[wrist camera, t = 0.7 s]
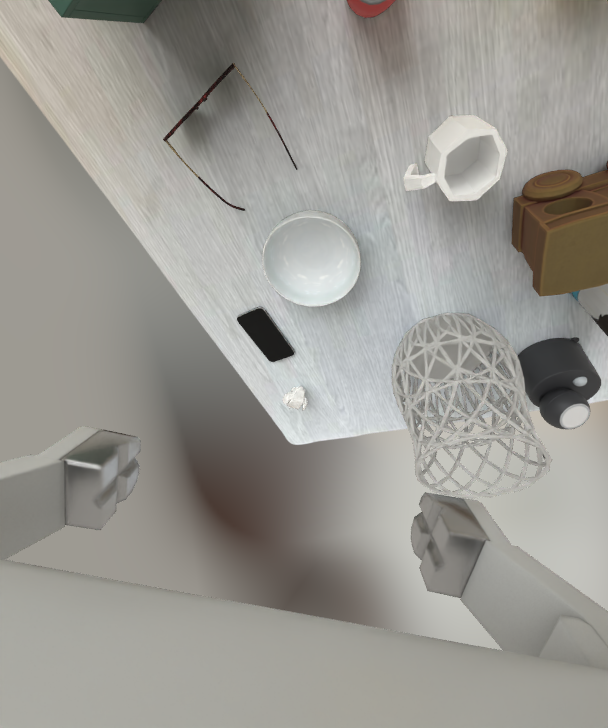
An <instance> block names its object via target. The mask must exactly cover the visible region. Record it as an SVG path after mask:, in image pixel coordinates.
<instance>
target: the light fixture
mask: <svg viewBox="0 0 608 728" xmlns="http://www.w3.org/2000/svg"><path fill="white" fill-rule="evenodd" d="M578 341H579V339H578V338H573V339H571V340H570V339H566V338H555V339H548V340H544V341H541V342H538V343H536V344H533V345H531V346H530V347H528V348H526V349H525V350H524V351H522V352H521V353H520V354H519V355H518V356H517V357H518V359H519V361H520V365H521V368H522V372H523V376H524V384H525V392H526V393H527V395H528V397H529V398H530V400H531V402H532V403H533V404H534V405H536V406H538V407H539V409H540V413H541V415H542V417H543V418H544V420H545V421H546V422H548V423H549V424H551V425H552V426H554V427H556V428H560V429H574V428H577V427H579V426H581V425H583V424H584V423H585V422H586V420H588V418H589V416H590V406H589V404H588V402H587V400H588V399H590V398H591V397H592V396H594V395H595V394H596V393H597V391H598V390H599V388H600V386H601V379H600V377H599V375H598V373H597V372H596V370H595V368H594V367H593V365H592V364H591V362H590V360H589V359H588V357H587V356H586V354H585V352H584V351H583V349H582V347H581V346H580V344H579V343H577V342H578Z"/></svg>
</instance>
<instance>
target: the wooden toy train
mask: <svg viewBox="0 0 608 728" xmlns="http://www.w3.org/2000/svg"><path fill="white" fill-rule="evenodd" d="M606 166H607V169H608V161H607V165H606ZM522 193H523V196H519V197H516V198H514V203H513V226H512V245H513V246H514V247H515V248H516V250H517V251H518V252H522V253H523V254H524V257H525V259H526V261H527V263H528V265H529V266H530V268H531V270H532V271H533V288H534V289H535V290H536V292H537V293H538V295H539V296H549V295H559V294H565V293H570V292H575V291H579V290H584V289H589V288H593V287H598V286H602V285H605V284H608V170H605V171H601V172H598V173H595V174H591V175H588V176H585V177H582V176H581V175H580V174H579V173H578V172H576V171H573V170H557V171H551V172H547V173H543V174H541V175H538V176H536V177H534V178H532V179H531V180H530V181H528V182H527V183H526V184H525V186H524V188H523V190H522Z"/></svg>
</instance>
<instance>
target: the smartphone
mask: <svg viewBox="0 0 608 728" xmlns="http://www.w3.org/2000/svg"><path fill="white" fill-rule="evenodd" d="M237 321H238V322H239V324H240V325H241V326H242V327H243V329H244V330H245V331H246V332H247V334H248V335H249V336H250V337H251V339H252V340H253V341H254V342H255V344H256V345H257V346H258V347H259V349H260V350H261V351H262V352H263V354H264V355H265V356H266V357H267V359H268V360H269V361H271V362H275V361H278V360H281V359H284V358H287V357H290V356H292V355H294V350H293V348H292V347H291V345H290V344H289V343H288V341H287V340H286V338H285V337H284V336H283V334H282V333H281V331H280V330H279V329H278V327H277V326H276V324H275V323H274V322H273V320H272V319H271V317H270V316H269V315H268V313H267V312H266V310H265V309H264V308H262V307H257V308H255V309H253V310H250V311H248V312H246V313H243V314H241V315H239V316H238V317H237Z"/></svg>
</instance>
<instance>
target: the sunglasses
mask: <svg viewBox="0 0 608 728" xmlns="http://www.w3.org/2000/svg"><path fill="white" fill-rule="evenodd" d="M234 68H236V69H237V71H238V72H239V74H240V75H241V76H242V78H243V79H244V80H245V81H246V79H245V78H244V76H243V75H242V74H241V72H240V71H239V70H238V68H237V67H236V66H235V64H234V63H232V64H231V66H230V67H229V68H228V69H227V70H226V71H225V72H224V73H223V74H222V75H221V76H220V77H219V78H218V80H217V81H216V82H215V83H214V84H213V85H212V86H211V87H210V88H209V89H208V91H207V92H206V93H205V94H204V95H203V96H202V97H201V99H200V100H199V101H198V102H197V103H196V104H195V105H194V106H193V107H192V108H191V109H190V110H189V111H188V113H187V114H186V115H185V116H184V117H183V118H182V119H181V120H180V121H179V122H178V123H177V124H176V125H175V126H174V128H173V129H172V130H171V131H170V132H169V133H168V134H167V135H166V136H165V138H164V139H163V140H164V141H166V143H167V144H168V145H169V146H170V148H171V149H172V150H173V151H174V152H175V153H176V155H177V156H178V157H179V158H180V159H181V160H182V161H183V159H182V158H181V157H180V156H179V155H178V153H177V152H176V151H175V149H174V148H173V147H172V146H171V145H170V143H169V142H168V141H167V139H168V138H169V137H171V136H172V135H173V134H174V132H175V131H176V129H177V128H178V127H179V126H180V125H181V124H182V123H183V122H184V121H185V120H186V119H187V118H188V117H189V116H190V115H191V114H192V112H193V111H194V110H196V109H197V110H198V106H199V105H200V104H201V103H202V102H205V101H206V100H207V96H208V95H209V94H210V93H211V92H212V91H213V90H214V88H215V87H216V86H217V85H218V84H219V83H220V82H221V81H222V80H223V79H224V78H225V77H226V76H227V75H228V74H229V73H230V72H231V71H232V70H233V69H234ZM246 83H247V84H248V85H249V83H248V82H247V81H246ZM249 87H250V88H251V86H250V85H249ZM251 89H252V88H251ZM252 91H253V89H252ZM253 92H254V91H253ZM254 94H255V92H254ZM255 95H256V94H255ZM256 97H257V95H256ZM257 98H258V97H257ZM258 100H259V98H258ZM259 101H260V100H259ZM260 103H261V101H260ZM261 104H262V103H261ZM262 106H263V104H262ZM263 108H264V110H265V111H266V109H265V107H264V106H263ZM266 113H267V115H268V117H269V119H270V120H271V122H272V124H273V126H274V127H275V129H276V131H277V133H278V135H279V137H280V138H281V140H282V142H283V144H284V146H285V148H286V150H287V152H288V154H289V156H290V158H291V160H292V162H293V164H294V166H295V168H296V170H297V167H296V165H295V163H294V161H293V159H292V157H291V155H290V153H289V151H288V149H287V147H286V145H285V143H284V141H283V139H282V137H281V135H280V133H279V131H278V130H277V128H276V126H275V124H274V122H273V121H272V119H271V117H270V116H269V114H268V112H267V111H266ZM183 163H184V164H185V165H186V166H187V167H188V168H189V169H190V170H191V171H192V172H193V173H194V174H195V175H196V176H197V177H198V178H199V179H200V180H201V181H202V182H203V183H204V184H205V185H206V186H207V187H208V188H209V189H210V190H211V191H212V192H213V193H214V194H215V195H216V196H217V197H219V198H220V199H221V200H222V201H223V202H225V203H226V204H227V205H229V206H231V207H233V208H236V209H239V210H243V211H245V209H244V208H240V207H236V206H233V205H231V204H229V203H228V202H226V201H225V200H224V199H223V198H222V197H220V196H219V195H218V194H217V193H216V192H215V191H214V190H213V189H211V188H210V187H209V186H208V185H207V184H206V183H205V182H204V181H203V180H202V179H201V178H200V177H199V176H198V175H197V174H196V173H195V172H194V171H193V170H192V169H191V168H190V167H189V166H188V165H187V164H186V163H185V162H184V161H183Z"/></svg>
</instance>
